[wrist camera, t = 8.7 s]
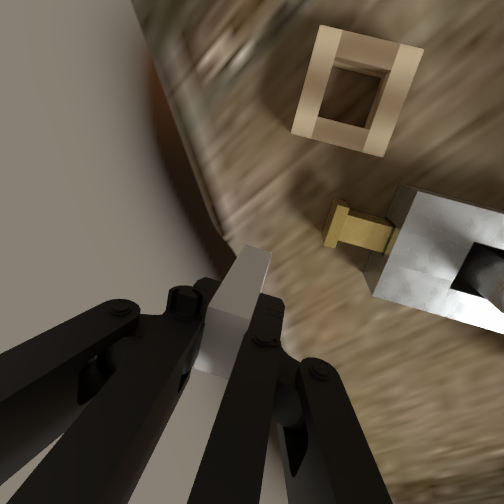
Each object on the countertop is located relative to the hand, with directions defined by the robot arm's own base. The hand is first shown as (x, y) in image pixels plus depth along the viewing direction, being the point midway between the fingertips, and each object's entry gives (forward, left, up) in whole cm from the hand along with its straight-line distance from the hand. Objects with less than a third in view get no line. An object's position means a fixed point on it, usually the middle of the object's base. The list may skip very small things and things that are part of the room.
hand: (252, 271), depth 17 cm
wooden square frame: (-12, +4, -21) cm, 25 cm away
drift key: (0, +11, -21) cm, 24 cm away
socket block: (0, +19, -21) cm, 28 cm away
